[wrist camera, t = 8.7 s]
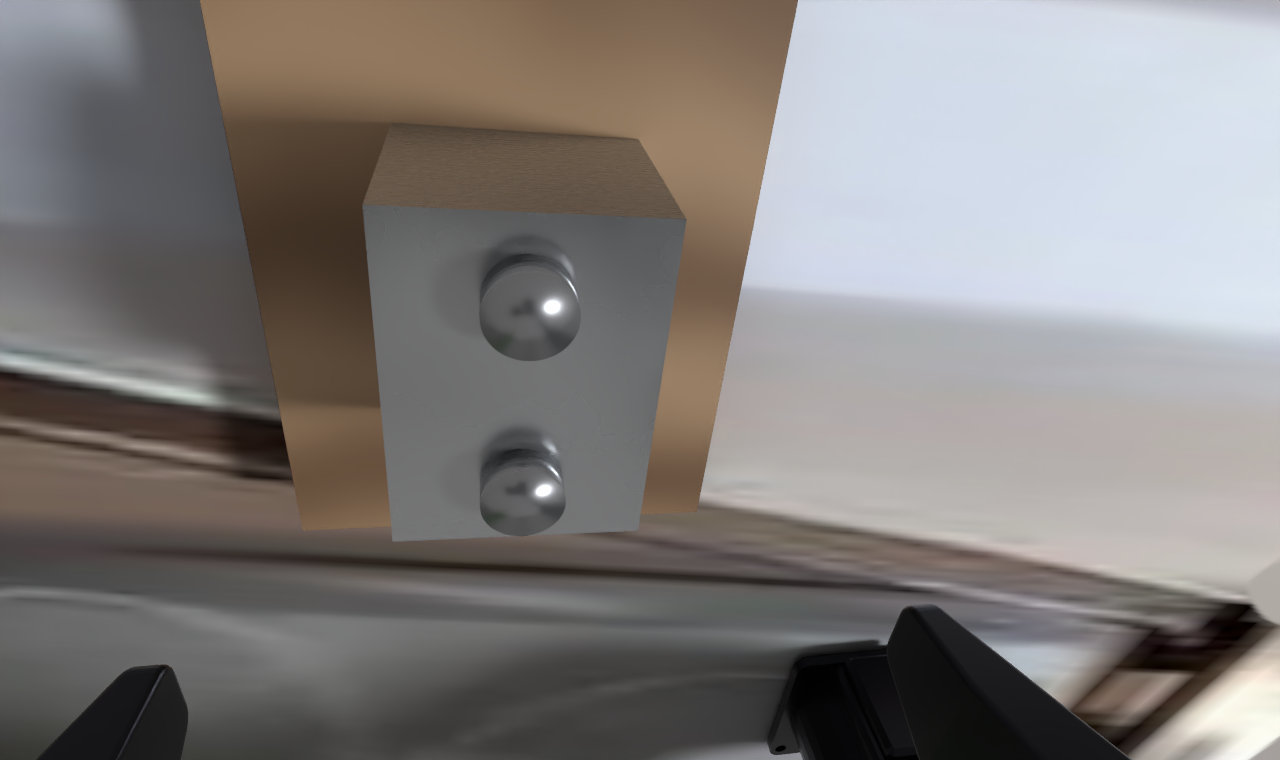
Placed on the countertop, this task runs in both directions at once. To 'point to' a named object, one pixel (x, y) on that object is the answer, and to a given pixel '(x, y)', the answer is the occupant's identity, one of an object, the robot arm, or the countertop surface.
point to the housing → (518, 327)
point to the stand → (488, 99)
